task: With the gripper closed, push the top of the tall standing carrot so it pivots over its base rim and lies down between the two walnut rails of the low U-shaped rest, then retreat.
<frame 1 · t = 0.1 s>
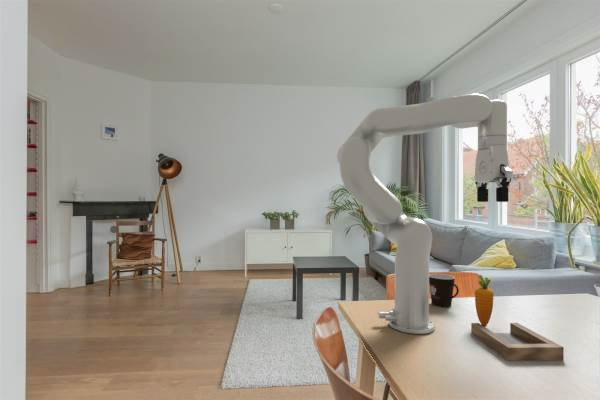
hand: (492, 201, 102), 37 cm above the table, tool pointing down, fingers open, 9 cm apart
coffee mug: (442, 306, 121), on the table
rest: (510, 344, 88), on the table
carrot: (484, 328, 100), on the table
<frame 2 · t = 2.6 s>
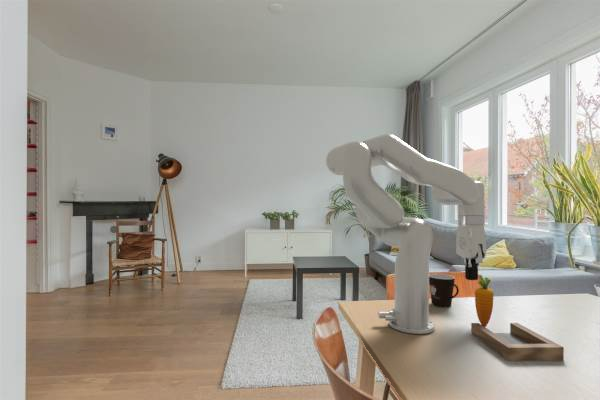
hand: (471, 279, 108), 12 cm above the table, tool pointing down, fingers closed
nothing on the table moved.
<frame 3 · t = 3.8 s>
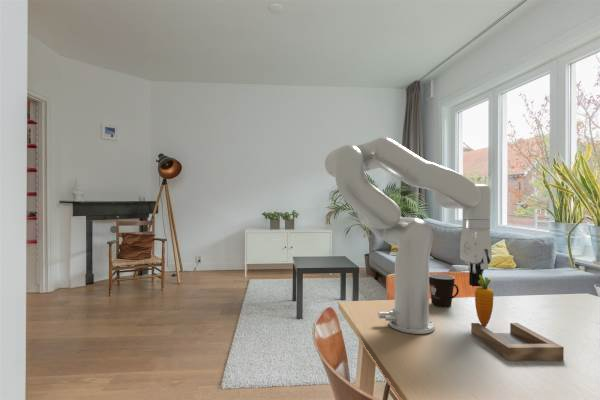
hand: (475, 285, 105), 11 cm above the table, tool pointing down, fingers closed
nothing on the table moved.
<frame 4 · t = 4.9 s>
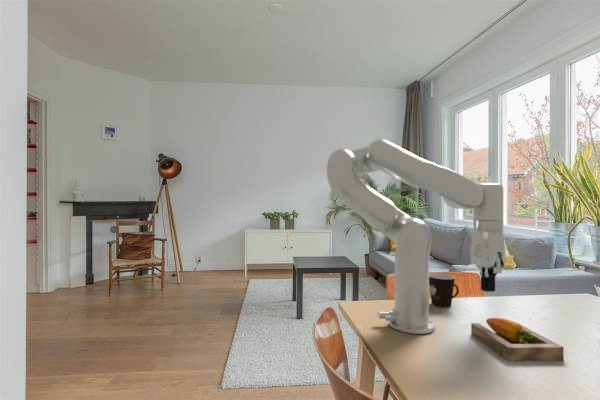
hand: (487, 290, 99), 11 cm above the table, tool pointing down, fingers closed
carrot: (486, 320, 99), point 2 cm above the table, touching rest
everything else where it was.
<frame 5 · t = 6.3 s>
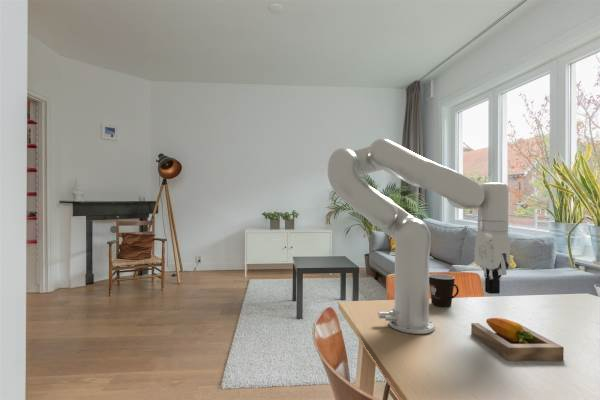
hand: (492, 292, 96), 11 cm above the table, tool pointing down, fingers closed
nothing on the table moved.
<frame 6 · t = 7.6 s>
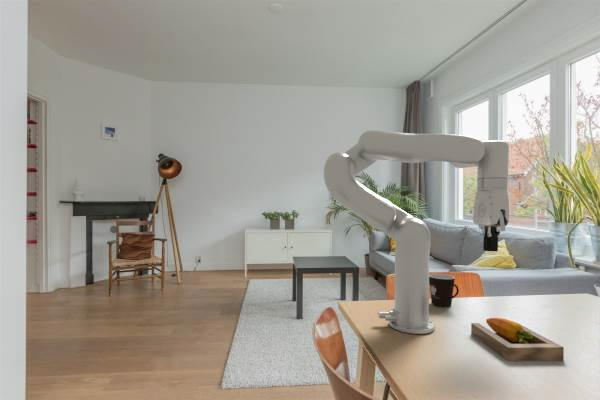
hand: (490, 250, 96), 23 cm above the table, tool pointing down, fingers closed
nothing on the table moved.
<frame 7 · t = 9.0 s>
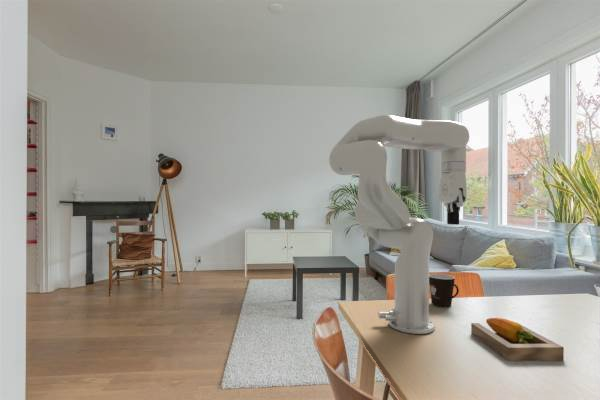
hand: (453, 224, 113), 29 cm above the table, tool pointing down, fingers closed
nothing on the table moved.
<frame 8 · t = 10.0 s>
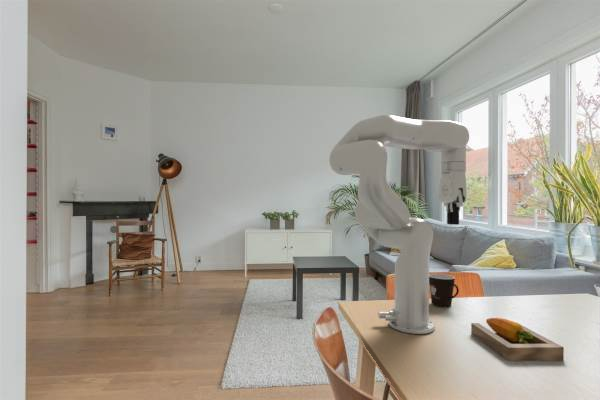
hand: (452, 224, 113), 29 cm above the table, tool pointing down, fingers closed
nothing on the table moved.
at the end: carrot tilted 89°; carrot inside the target area on the rest (10.5 cm from its centre), point 2.4 cm above the rest's base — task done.
